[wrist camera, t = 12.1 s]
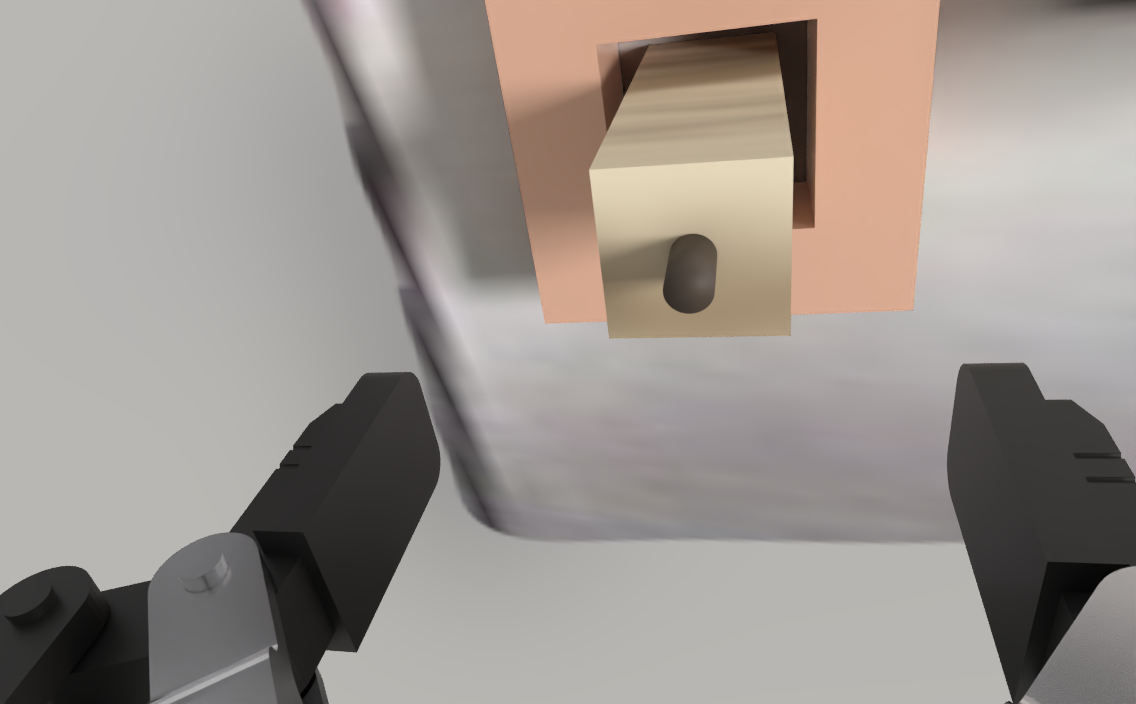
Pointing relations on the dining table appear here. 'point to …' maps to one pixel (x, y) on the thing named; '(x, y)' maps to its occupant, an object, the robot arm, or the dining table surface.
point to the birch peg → (698, 194)
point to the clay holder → (834, 136)
